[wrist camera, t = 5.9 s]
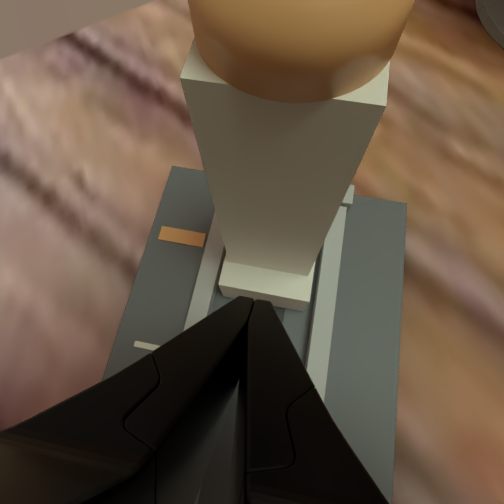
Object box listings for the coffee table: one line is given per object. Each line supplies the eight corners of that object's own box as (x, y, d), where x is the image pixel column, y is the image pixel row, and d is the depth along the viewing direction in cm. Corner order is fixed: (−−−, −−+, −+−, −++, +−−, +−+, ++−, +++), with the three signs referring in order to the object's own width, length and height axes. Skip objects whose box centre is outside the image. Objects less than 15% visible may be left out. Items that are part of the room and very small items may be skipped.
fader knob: (303, 311, 15) (446, 82, 3) (223, 296, 15) (110, 39, 4) (318, 211, 17) (449, -170, 5) (245, 198, 17) (215, -185, 6)
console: (346, 1069, 9) (371, 1266, 7) (-56, 914, 10) (-135, 1047, 8) (397, 214, 18) (415, 193, 16) (177, 178, 19) (167, 153, 17)
